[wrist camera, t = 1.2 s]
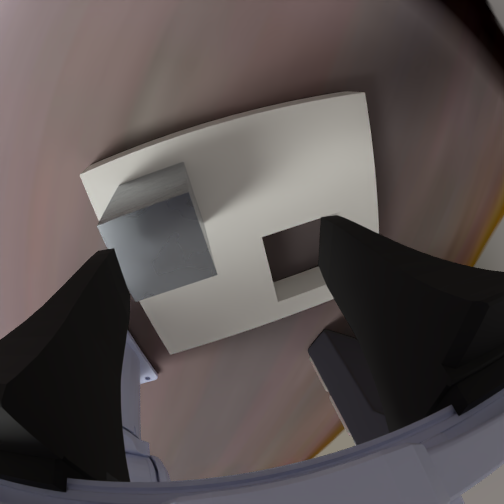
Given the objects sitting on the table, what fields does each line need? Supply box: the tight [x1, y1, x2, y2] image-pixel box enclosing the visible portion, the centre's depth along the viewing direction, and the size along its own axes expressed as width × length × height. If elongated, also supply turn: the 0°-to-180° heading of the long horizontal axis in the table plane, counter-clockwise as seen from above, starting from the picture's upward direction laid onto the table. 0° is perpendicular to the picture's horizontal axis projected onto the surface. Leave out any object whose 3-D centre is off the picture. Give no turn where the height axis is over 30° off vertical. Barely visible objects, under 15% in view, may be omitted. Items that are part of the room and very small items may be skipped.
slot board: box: [80, 91, 379, 355], centre depth 22 cm, size 18×15×2 cm
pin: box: [97, 162, 218, 302], centre depth 16 cm, size 4×4×6 cm
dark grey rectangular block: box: [308, 329, 389, 445], centre depth 26 cm, size 11×4×15 cm, turn 58°
